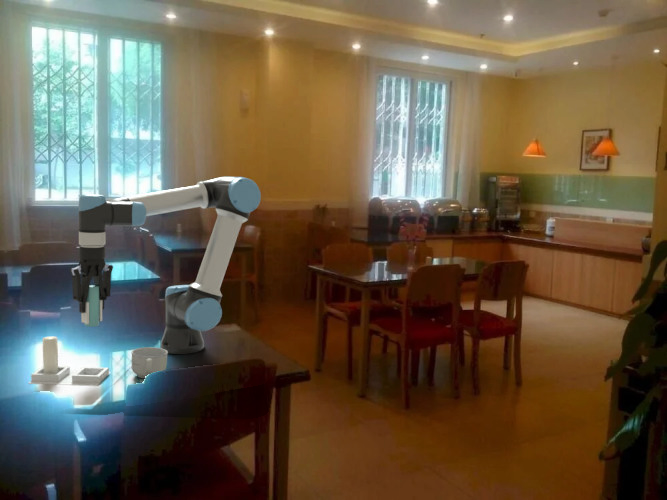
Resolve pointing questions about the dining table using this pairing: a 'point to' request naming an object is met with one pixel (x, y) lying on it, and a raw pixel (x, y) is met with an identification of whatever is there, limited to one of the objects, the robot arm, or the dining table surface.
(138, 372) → the teacup
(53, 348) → the peg seated
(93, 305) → the teal peg
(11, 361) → the dining table surface
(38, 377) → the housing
